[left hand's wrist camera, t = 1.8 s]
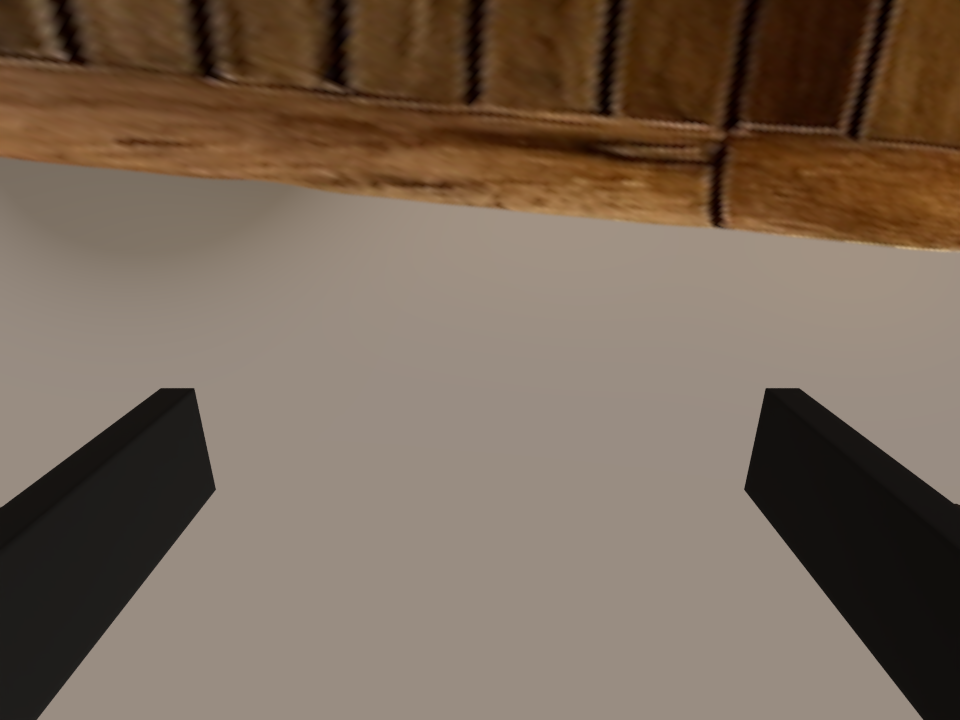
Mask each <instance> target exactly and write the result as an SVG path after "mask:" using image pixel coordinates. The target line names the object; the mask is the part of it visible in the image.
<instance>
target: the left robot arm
mask: <svg viewBox="0 0 960 720" xmlns="http://www.w3.org/2000/svg"><path fill="white" fill-rule="evenodd" d="M215 490H216V488H215V484H214V479H213V474H212V470H211V465H210V460H209V456H208V451H207V446H206V442H205V437H204V432H203V428H202V423H201V418H200V413H199V409H198V404H197V399H196V394H195V390H194V388H161V389H159V390H158V391H157V392H155V393H154V394H153V395H151V396H150V397H149V398H147V399H146V400H145V401H143V402H142V403H141V404H139V405H138V406H136V407H135V408H134V409H132V410H131V411H130V412H129V413H127V414H126V415H125V416H123V417H122V418H120V419H119V420H118V421H116V422H115V423H114V424H112V425H111V426H110V427H108V428H107V429H106V430H104V431H103V432H102V433H100V434H99V435H98V436H96V437H95V438H94V439H92V440H91V441H90V442H88V443H87V444H86V445H84V446H83V447H82V448H80V449H79V450H78V451H76V452H75V453H74V454H72V455H71V456H70V457H68V458H67V459H66V460H64V461H63V462H61V463H60V464H59V465H57V466H56V467H55V468H53V469H52V470H51V471H49V472H48V473H47V474H45V475H44V476H43V477H41V478H40V479H39V480H37V481H36V482H35V483H33V484H32V485H31V486H29V487H28V488H27V489H25V490H24V491H23V492H21V493H20V494H19V495H17V496H16V497H15V498H13V499H12V500H11V501H9V502H8V503H7V504H5V505H4V506H3V507H1V508H0V720H37V719H38V717H39V716H40V715H41V713H42V712H43V711H44V710H45V708H46V707H47V706H48V704H49V703H50V702H51V701H52V699H53V698H54V697H55V695H56V694H57V693H58V692H59V690H60V689H61V688H62V686H63V685H64V684H65V683H66V681H67V680H68V679H69V677H70V676H71V675H72V674H73V672H74V671H75V670H76V669H77V667H78V666H79V665H80V663H81V662H82V661H83V659H84V658H85V657H86V656H87V654H88V653H89V652H90V650H91V649H92V648H93V647H94V645H95V644H96V643H97V642H98V640H99V639H100V638H101V636H102V635H103V634H104V633H105V631H106V630H107V629H108V627H109V626H110V625H111V624H112V622H113V621H114V620H115V618H116V617H117V616H118V615H119V613H120V612H121V611H122V609H123V608H124V607H125V606H126V604H127V603H128V602H129V600H130V599H131V598H132V597H133V595H134V594H135V593H136V591H137V590H138V589H139V588H140V586H141V585H142V584H143V582H144V581H145V580H146V579H147V577H148V576H149V575H150V573H151V572H152V571H153V570H154V568H155V567H156V566H157V564H158V563H159V562H160V561H161V559H162V558H163V557H164V555H165V554H166V553H167V552H168V550H169V549H170V548H171V546H172V545H173V544H174V543H175V541H176V540H177V539H178V537H179V536H180V535H181V534H182V532H183V531H184V530H185V528H186V527H187V526H188V525H189V523H190V522H191V521H192V519H193V518H194V517H195V516H196V514H197V513H198V512H199V510H200V509H201V508H202V507H203V505H204V504H205V503H206V501H207V500H208V499H209V498H210V496H211V495H212V494H213V492H214V491H215ZM744 490H745V491H746V492H747V494H748V495H749V496H750V498H751V499H752V500H753V501H754V503H755V504H756V505H757V507H758V508H759V509H760V510H761V512H762V513H763V514H764V516H765V517H766V518H767V519H768V521H769V522H770V523H771V525H772V526H773V527H774V528H775V530H776V531H777V532H778V534H779V535H780V536H781V537H782V539H783V540H784V541H785V543H786V544H787V545H788V546H789V548H790V549H791V550H792V552H793V553H794V554H795V555H796V557H797V558H798V559H799V561H800V562H801V563H802V564H803V566H804V567H805V568H806V570H807V571H808V572H809V573H810V575H811V576H812V577H813V578H814V580H815V581H816V582H817V584H818V585H819V586H820V588H821V589H822V590H823V591H824V593H825V594H826V595H827V597H828V598H829V599H830V600H831V602H832V603H833V604H834V605H835V607H836V608H837V609H838V611H839V612H840V613H841V615H842V616H843V617H844V618H845V620H846V621H847V622H848V623H849V625H850V626H851V627H852V629H853V630H854V631H855V633H856V634H857V635H858V636H859V638H860V639H861V640H862V642H863V643H864V644H865V645H866V647H867V648H868V649H869V650H870V652H871V653H872V654H873V656H874V657H875V658H876V660H877V661H878V662H879V663H880V665H881V666H882V667H883V668H884V670H885V671H886V672H887V674H888V675H889V676H890V678H891V679H892V680H893V681H894V683H895V684H896V685H897V686H898V688H899V689H900V690H901V692H902V693H903V694H904V695H905V697H906V698H907V699H908V701H909V702H910V703H911V704H912V706H913V707H914V708H915V710H916V711H917V712H918V713H919V715H920V716H921V717H922V718H923V720H960V505H958V504H953V503H952V502H951V501H949V500H948V499H947V498H945V497H944V496H943V495H941V494H940V493H939V492H937V491H936V490H935V489H933V488H932V487H931V486H929V485H928V484H927V483H925V482H924V481H923V480H921V479H920V478H919V477H917V476H916V475H915V474H913V473H912V472H911V471H909V470H908V469H907V468H905V467H904V466H902V465H901V464H900V463H898V462H897V461H896V460H894V459H893V458H892V457H890V456H889V455H888V454H886V453H885V452H884V451H882V450H881V449H880V448H878V447H877V446H876V445H874V444H873V443H872V442H870V441H869V440H868V439H866V438H865V437H864V436H862V435H861V434H860V433H858V432H857V431H856V430H854V429H853V428H852V427H850V426H849V425H848V424H846V423H845V422H844V421H842V420H841V419H839V418H838V417H837V416H836V415H834V414H833V413H831V412H830V411H829V410H828V409H826V408H825V407H824V406H822V405H821V404H819V403H818V402H817V401H815V400H814V399H813V398H811V397H810V396H809V395H807V394H806V393H805V392H803V391H802V390H801V389H799V388H766V390H765V394H764V399H763V404H762V409H761V413H760V418H759V423H758V427H757V432H756V437H755V441H754V446H753V451H752V456H751V460H750V465H749V470H748V474H747V479H746V484H745V488H744Z"/></svg>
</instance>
